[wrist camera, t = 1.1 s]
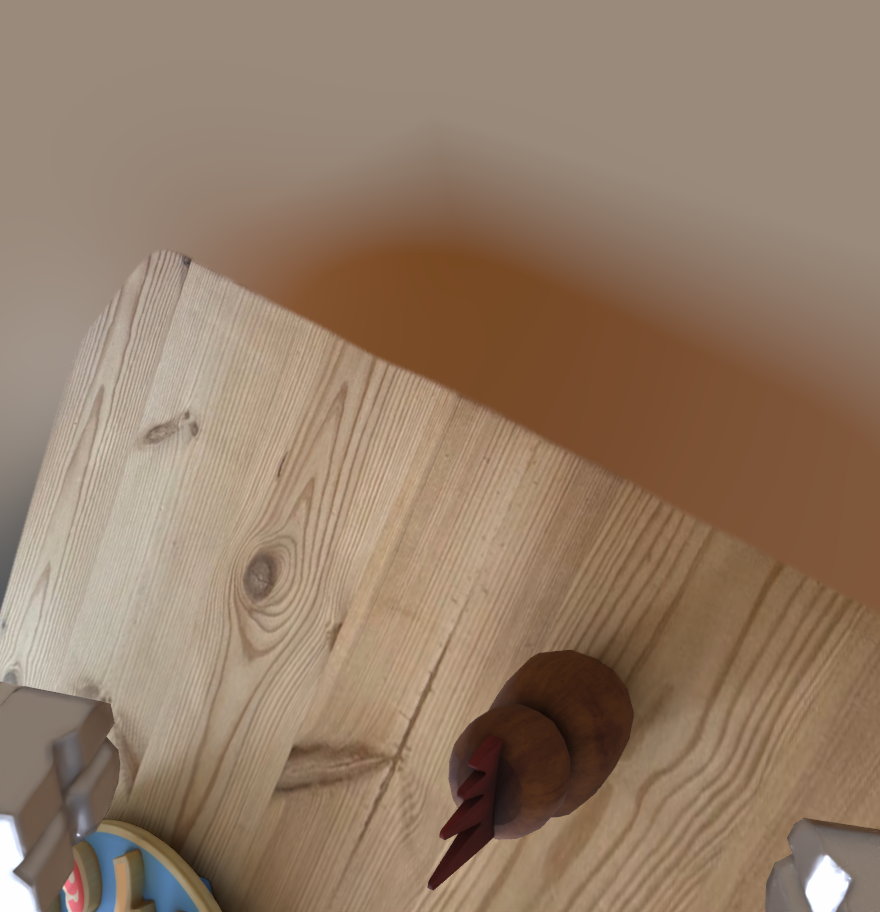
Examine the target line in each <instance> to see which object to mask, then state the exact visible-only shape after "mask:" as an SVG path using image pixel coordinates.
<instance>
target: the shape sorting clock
mask: <svg viewBox="0 0 880 912" xmlns="http://www.w3.org/2000/svg"><path fill="white" fill-rule="evenodd" d="M73 854H74V864H75V868H74V870H73V871H72V873H71V875H70V876H69V878H68V880H67V881H66V883H65V885H64V886H63V888H62V890H61V891H60V893H59V895H58V896H57V898H56V900H55V901H54V903H53V905H52V906H51V908H50V910H49V911H48V912H222V911H221V909H220V907H219V906H218V904H217V902H216V901H215V899H214V898H213V893H212V889H211V886H210V883H209V881H208V880H207V879H204V878H201V877H198V875H197V874H196V873H195V872H194V871H193V869H192V868H191V867H190V866H189V865H188V864H187V863H186V862H185V861H184V860H183V859H182V858H181V857H180V856H179V855H178V854H177V853H176V852H175V851H174V850H173V849H172V848H170V847H169V846H168V845H167V844H165V843H164V842H163V841H161V840H160V839H158V838H157V837H156V836H154V835H152V834H151V833H149V832H147V831H146V830H144V829H142V828H140V827H138V826H135V825H132V824H129V823H126V822H122V821H117V820H109V819H105V820H102V822H101V824H100V826H99V827H98V829H97V831H96V832H95V833H93V834H92V835H90V836H89V837H87V838H86V839H84V840H82V841H81V842H79V843H78V844H76V845H75V846H73Z"/></svg>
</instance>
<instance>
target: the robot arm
mask: <svg viewBox="0 0 880 912" xmlns="http://www.w3.org/2000/svg"><path fill="white" fill-rule="evenodd" d="M114 724H115V723H114V718H113V713H112V708H111V704H109V703H106V702H102V701H97V700H92V699H87V698H82V697H77V696H72V695H67V694H62V693H56V692H51V691H46V690H41V689H36V688H31V687H26V686H20V685H14V684H9V683H3V682H0V912H48V911H49V910H50V908H51V906H52V905H53V903H54V901H55V900H56V898H57V896H58V895H59V893H60V891H61V890H62V888H63V886H64V885H65V883H66V881H67V880H68V878H69V876H70V875H71V873H72V871H73V870H74V868H75V864H74V854H73V846H75V845H76V844H78V843H79V842H81V841H82V840H84V839H86V838H87V837H89V836H90V835H92V834H93V833H95V832H96V831H97V829H98V827H99V826H100V824H101V822H102V820H103V819H104V817H105V815H106V813H107V812H108V810H109V808H110V805H111V802H112V799H113V797H114V794H115V791H116V788H117V785H118V780H119V771H120V759H119V751H118V749H117V748H116V747H115V746H114V745H113V744H112V742H111V741H110V740H109V739H108V738H107V737H106V736H107V734H108V733H109V731H110V730H111V728H112V727H113V725H114ZM787 839H788V842H789V845H790V848H791V851H792V854H791V855H789V856H787V857H786V858H784V859H782V860H780V861H778V862H776V863H775V864H774V866H773V869H772V871H771V873H770V876H769V878H768V881H767V885H766V899H765V912H880V830H878V829H872V828H865V827H859V826H853V825H846V824H840V823H833V822H827V821H820V820H814V819H807V818H803V819H802V820H800V821H798V822H797V823H795V824H794V826H793V828H792V830H791V832H790V834H789V836H788V837H787Z"/></svg>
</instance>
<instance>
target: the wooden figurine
mask: <svg viewBox="0 0 880 912" xmlns="http://www.w3.org/2000/svg"><path fill="white" fill-rule="evenodd" d="M633 717H634V716H633V708H632V705H631V701H630V697H629V693H628V690H627V688H626V687H625V685H624V684H623V683H622V681H621V680H620V679H619V677H618V676H617V675H616V673H615V672H614V671H613V670H611V669H610V668H609V667H607V666H606V665H604V664H603V663H601V662H600V661H598V660H597V659H595V658H592V657H589V656H586V655H584V654H581V653H578V652H575V651H573V650H564V651H554V652H545V653H539V654H537V655H535V656H533V657H531V658H530V659H529V660H528V661H527V662H526V663H525V664H524V665H523V666H522V667H521V668H520V669H519V670H518V671H517V672H516V673H515V674H514V675H513V676H512V677H511V678H510V679H509V680H508V681H507V682H506V684H505V685H504V687H503V688H502V690H501V691H500V693H499V694H498V696H497V697H496V699H495V700H494V702H493V704H492V705H491V707H490V709H489V711H488V712H486V713H484V714H483V715H481V716H480V717H478V718H476V719H475V720H474V721H473V722H471V723H470V724H469V725H468V727H467V728H466V729H465V730H464V732H463V733H462V734H461V735H460V737H459V738H458V740H457V741H456V743H455V744H454V748H453V751H452V754H451V758H450V762H449V783H450V788H451V792H452V797H453V800H454V802H455V804H456V805H457V807H458V809H457V810H456V812H455V813H454V814H453V816H452V817H451V818H450V819H449V821H448V822H447V823H446V824H445V826H444V827H443V828H442V829H441V831H440V836H439V837H440V838H442V839H444V840H446V839H448V838H450V837H452V836H454V835H456V834H458V835H457V837H456V838H455V840H454V841H453V843H452V845H451V846H450V848H449V849H448V851H447V852H446V854H445V856H444V857H443V859H442V860H441V862H440V864H439V865H438V867H437V868H436V870H435V872H434V873H433V875H432V876H431V878H430V880H429V882H428V888H429V889H431V890H434V889H436V888H437V887H438V886H439V885H440V884H441V883H443V882H444V881H445V880H446V879H447V878H448V877H449V876H451V875H452V874H453V873H454V872H455V871H456V870H458V869H459V868H460V867H461V866H462V865H463V864H464V863H466V862H467V861H468V860H469V859H470V858H471V857H473V856H474V855H475V854H476V853H477V852H478V851H479V850H480V849H481V848H483V847H484V846H485V845H486V844H487V843H488V842H489V841H490V840H491V839H492V838H495V839H498V840H500V839H517V838H520V837H523V836H525V835H527V834H529V833H531V832H534V831H536V830H538V829H540V828H541V827H542V826H543V825H544V824H545V823H546V822H547V821H548V820H549V819H550V818H552V817H560V816H565V815H569V814H570V813H571V812H573V811H574V810H575V809H577V808H578V807H579V806H580V805H582V804H583V803H584V802H585V801H587V800H588V799H589V798H590V797H591V796H593V795H594V794H595V793H596V792H597V790H598V789H599V788H600V787H601V786H602V784H603V783H604V782H605V780H606V779H607V777H608V776H609V775H610V773H611V772H612V771H613V769H614V768H615V766H616V764H617V762H618V760H619V758H620V756H621V754H622V752H623V750H624V749H625V747H626V744H627V742H628V740H629V737H630V732H631V727H632V722H633Z"/></svg>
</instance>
